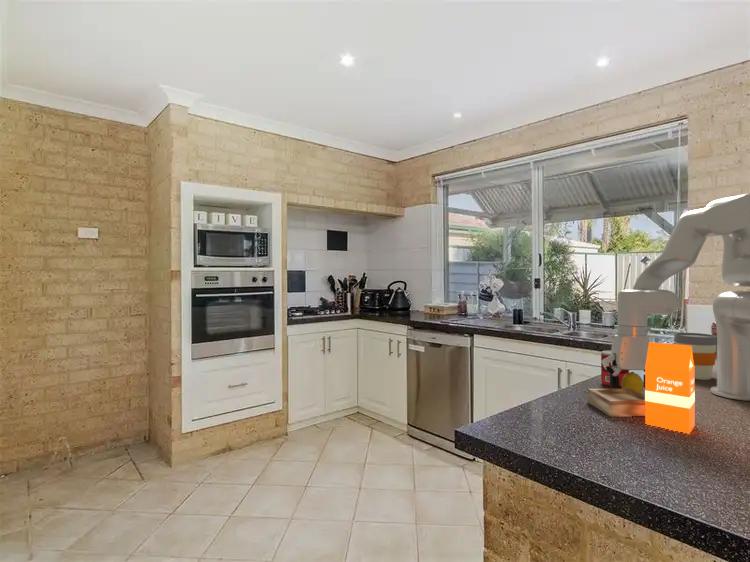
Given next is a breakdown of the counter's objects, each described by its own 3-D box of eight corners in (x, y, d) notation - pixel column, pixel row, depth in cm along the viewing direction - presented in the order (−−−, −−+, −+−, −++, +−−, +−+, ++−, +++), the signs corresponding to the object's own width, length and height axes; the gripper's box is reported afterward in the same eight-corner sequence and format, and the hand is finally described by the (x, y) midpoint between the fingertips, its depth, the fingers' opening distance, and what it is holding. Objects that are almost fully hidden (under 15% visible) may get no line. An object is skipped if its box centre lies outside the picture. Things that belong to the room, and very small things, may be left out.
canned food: (632, 388, 134) (632, 354, 134) (605, 387, 136) (605, 354, 135) (623, 382, 141) (623, 350, 141) (598, 381, 143) (598, 350, 143)
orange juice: (652, 417, 107) (652, 340, 107) (695, 425, 101) (695, 343, 101) (644, 425, 102) (644, 343, 101) (689, 434, 95) (689, 348, 95)
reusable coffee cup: (697, 381, 142) (697, 338, 142) (665, 373, 154) (665, 333, 154) (727, 379, 145) (727, 336, 144) (692, 371, 157) (692, 332, 157)
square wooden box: (630, 402, 120) (630, 388, 120) (657, 416, 108) (657, 401, 108) (587, 402, 120) (587, 388, 120) (610, 416, 108) (610, 401, 108)
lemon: (640, 396, 125) (640, 370, 125) (645, 402, 120) (645, 374, 120) (619, 395, 127) (619, 369, 127) (624, 400, 122) (624, 373, 122)
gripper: (653, 330, 127) (652, 385, 127) (596, 329, 127) (595, 385, 127) (670, 333, 119) (669, 392, 120) (609, 332, 120) (608, 391, 120)
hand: (631, 388), depth 124 cm, fingers open, 9 cm apart
